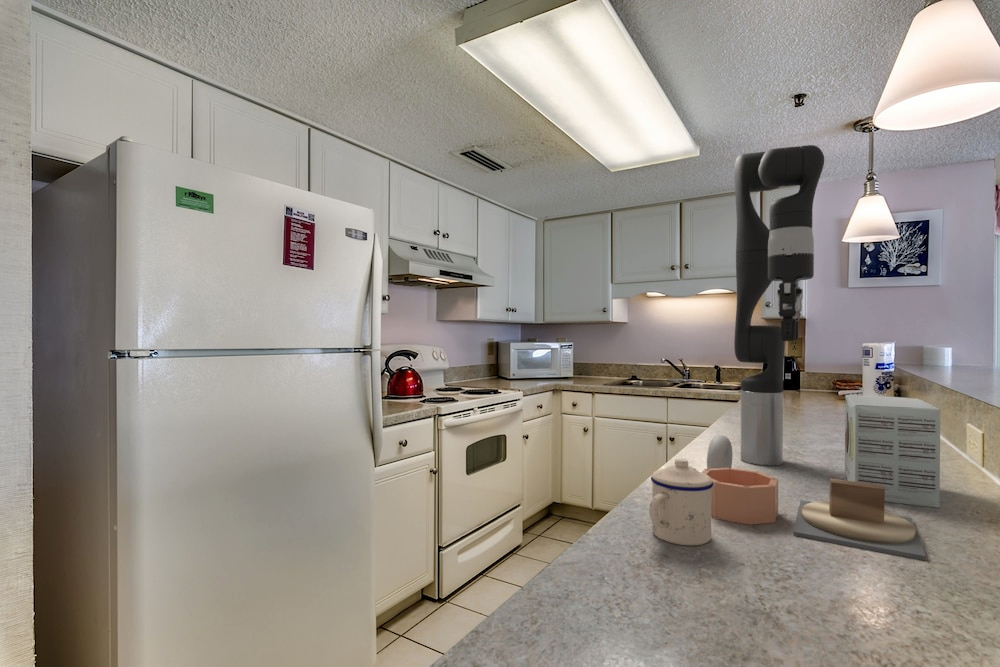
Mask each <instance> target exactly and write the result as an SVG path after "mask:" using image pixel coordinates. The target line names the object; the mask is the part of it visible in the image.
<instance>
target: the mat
mask: <svg viewBox="0 0 1000 667" xmlns="http://www.w3.org/2000/svg"><path fill="white" fill-rule="evenodd" d="M808 503H813V501H806V500H803V499H802V500H801V499H800V502H799V506H798V511H797V513H796V518H795V519H796V520H795V523H794V527H793V532H792V533H793V534H792V535H793V536H794V537H795V536H796V537H801V538H806V539H812V540H816V541H821V542H827V543H831V544H837V545H843V546H847V547H848V546H849V547H853V548H859V549H863V550H868V551H873V552H880V553H884V554H885V553H886V554H891V555H895V556H899V557H900V556H901V557H905V558H911V559H916V560H921V561H927V554H926V552H925V549H924V547H923V543H922V542H921V539H920V536H919V534H918V531H917V528H916V526H915V524H914V521H913V519H912V517H909V516H903V515H898V516H899V517H901V518H903V519H905V520H907V521H909V522H910V523H911V524H913V525H914V527H915V529H916V532H915V539H913V540H912V541H909V542H905V543H875V542H867V541H861V540H855V539H851V538H846V537H842V536H839V535H835V534H832V533H829V532H826V531H824V530H821V529H819V528H817V527H815V526H813V525H811V524H809V523H808V522H806V521H805V520H804V519H803V517H802V507H803V506H804V505H806V504H808Z"/></svg>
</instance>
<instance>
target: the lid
mask: <svg viewBox="0 0 1000 667" xmlns="http://www.w3.org/2000/svg"><path fill="white" fill-rule="evenodd" d="M812 502H813V501H812ZM885 502H886V501H885V489H884V487H883V486H882V485H879V484H870V483H862V482H854V481H848V480H847V479H846V480H845V479H838V478H829V501H814V502H813V503H808V504H806V505H804V506H803V507H802V517H803V519H804V520H805V521H806V522H808V523H809V524H811V525H813V526H815V527H817V528H819V529H821V530H824V531H826V532H829V533H832V534H835V535H839V536H842V537H846V538H851V539H855V540H861V541H867V542H875V543H905V542H909V541H912V540H913V539H915V532H916V531H917V528H916V526H915V524H914V525H913V524H911V523H910V522H909V521H907V520H905V519H903V518H901V517H899V516H900V515H896V514H893V513H891V512H889V511H885ZM914 526H915V527H914ZM915 528H916V529H915Z"/></svg>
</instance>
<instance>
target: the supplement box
mask: <svg viewBox="0 0 1000 667" xmlns="http://www.w3.org/2000/svg"><path fill="white" fill-rule="evenodd" d="M844 397H845V398H844V400H845V401H844V402H845V406H844V407H845V411H844V412H845V416H844V417H845V420H844V421H845V422H844V425H845V428H844V430H845V431H844V441H845V442H844V444H845V445H844V475H845V477H846V481H854V482H862V483H870V484H879V485H882V486H883V487H884V489H885V502H889V503H896V504H904V505H912V506H919V507H926V508H927V507H928V508H935V509H936V508H937V509H939V508H940V496H941V494H940V492H941V491H940V490H941V488H940V487H941V486H940V484H941V483H940V482H941V480H940V479H941V478H940V476H941V408H938V407H937V406H935V405H932V404H931V403H928V402H926V401H924V400H922V399H920V398H913V397H903V396H902V397H899V396H881V395H862V394H861V395H860V394H859V395H857V394H845V395H844Z"/></svg>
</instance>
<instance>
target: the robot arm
mask: <svg viewBox="0 0 1000 667" xmlns="http://www.w3.org/2000/svg"><path fill="white" fill-rule="evenodd" d="M824 165H825V156H824V152H823V150H822V149H821V148H820V147H819V146H817V145H814V144H810V145H809V144H807V145H798V146H789V147H788V146H787V147H779V148H777V147H776V148H771V149H768V150H766V151H757V152H748V153H743V154H742V153H741V154H739V155H738V156H737V158H736V159H735V162H734V169H733V170H734V171H733V172H734V173H733V175H734V176H733V177H734V178H733V179H734V194H735V208H736V213H735V214H736V239H735V240H736V242H735V243H736V244H735V247H736V248H735V275H736V311H735V312H736V313H735V327H734V341H733V342H734V345H733V346H734V355H735V358H736V360H737V361H738V362H740V363H750V364H751V363H752V364H754V363H755V364H767V367H766V369H765V370H763V371H762V372H759V373H757V374H754V375H751V376H747V377H744V378H742V379H741V382H740V460H742V461H743V462H745V463H749V464H754V465H761V466H780V465H782V464H783V463H784V460H783V459H784V453H783V452H784V451H783V450H784V366H785V365H784V364H785V363H784V362H785V350H786V342H795V341H797V340H799V321H800V319H801V312H802V310H803V308H802V307H803V306H802V305H803V303H802V302H803V301H802V300H803V299H804V297H803V296H804V291H803V288H801V287H799V282H800V281H804V280H805V281H806V280H811V279H813V278H814V271H815V268H814V266H815V263H814V260H815V256H814V255H815V240H814V233H813V232H814V231H813V208H814V207H813V206H814V200H815V194H816V191H817V187H818V184H819V181H820V179H821V174H822V173H823V169H824ZM793 186H799V190H798V192H796V193H794V194H792V195H788V196H784V197H780V198H778V199H776V200H773V202H772V203H771V204H770V205H769V228H768V226H767V225H766V224H765V223H764V221H763V220H762V219H761V217H760V216H759V213H758V212H757V211H756V208H755V206H754V204H753V201H752V197H751V193H756V192H765V191H767V192H768V191H773V190H776V189H780V188H781V187H793ZM772 282H780V283H779V284H778V288H779V289H777V299H778V300H777V309H778V315H779V320H780V321H781V323H780V324H781V326H780V325H752V324H751V323H752V317H753V315H754V311H755V309H756V307H757V305H758V303H759V301H760V299H761V298H762V296H763V295H764V293H765V292H766V291H767V289H768V288H769V287H770V285H771V284H772Z"/></svg>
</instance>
